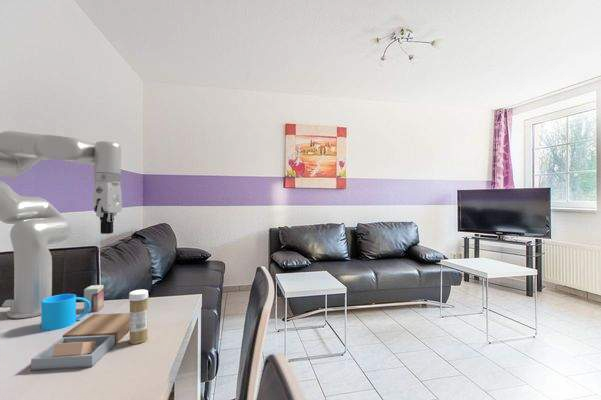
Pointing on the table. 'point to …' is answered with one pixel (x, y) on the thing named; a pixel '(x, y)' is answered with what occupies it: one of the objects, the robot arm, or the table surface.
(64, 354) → the tile
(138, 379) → the table surface
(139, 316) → the sprinkles bottle
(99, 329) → the board
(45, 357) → the tray
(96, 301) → the small box
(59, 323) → the mug
